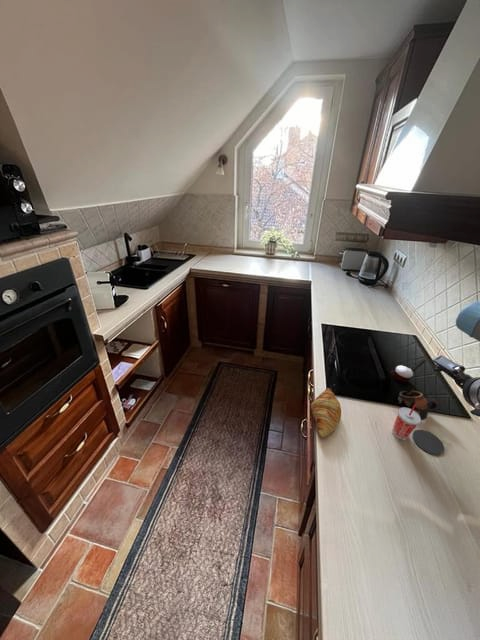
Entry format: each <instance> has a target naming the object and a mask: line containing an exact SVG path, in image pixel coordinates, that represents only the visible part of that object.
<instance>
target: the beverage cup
mask: <svg viewBox="0 0 480 640" xmlns="http://www.w3.org/2000/svg"><path fill="white" fill-rule="evenodd" d="M415 406H416V404H415V403H414V404H413V406H412V408H410V407H405V406H404V407H400V408H399V409H398V411H397V416H396V418H395V420H394V422H393V425H392V428H391V433H392V435H393V436H394V437H395V438H396V439H399V440H402V441H404V440H407V439H408V438H409V436H410V435H411V433H413V432H414V429H415V428H416V427H417V426H419V424H420V423H421V421H422V420H421V418H420V416H419V415H418V414H419V413H417V411H415V408H416V407H415Z"/></svg>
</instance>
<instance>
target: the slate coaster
mask: <svg viewBox="0 0 480 640" xmlns="http://www.w3.org/2000/svg"><path fill="white" fill-rule="evenodd" d="M412 440H413V442H414V443H415V445H416V446H417V447H418V448H419V449H421V450H422V451H424V452H425V453H427V454H430V455H433V456H440V455H442V454H444V452H445V445H444V443H443V442H442V440H441V439H440V438H439V436H437V435H435V434H434V433H432V432H430V431H428V430H425V429H415V430H413V431H412Z"/></svg>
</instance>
